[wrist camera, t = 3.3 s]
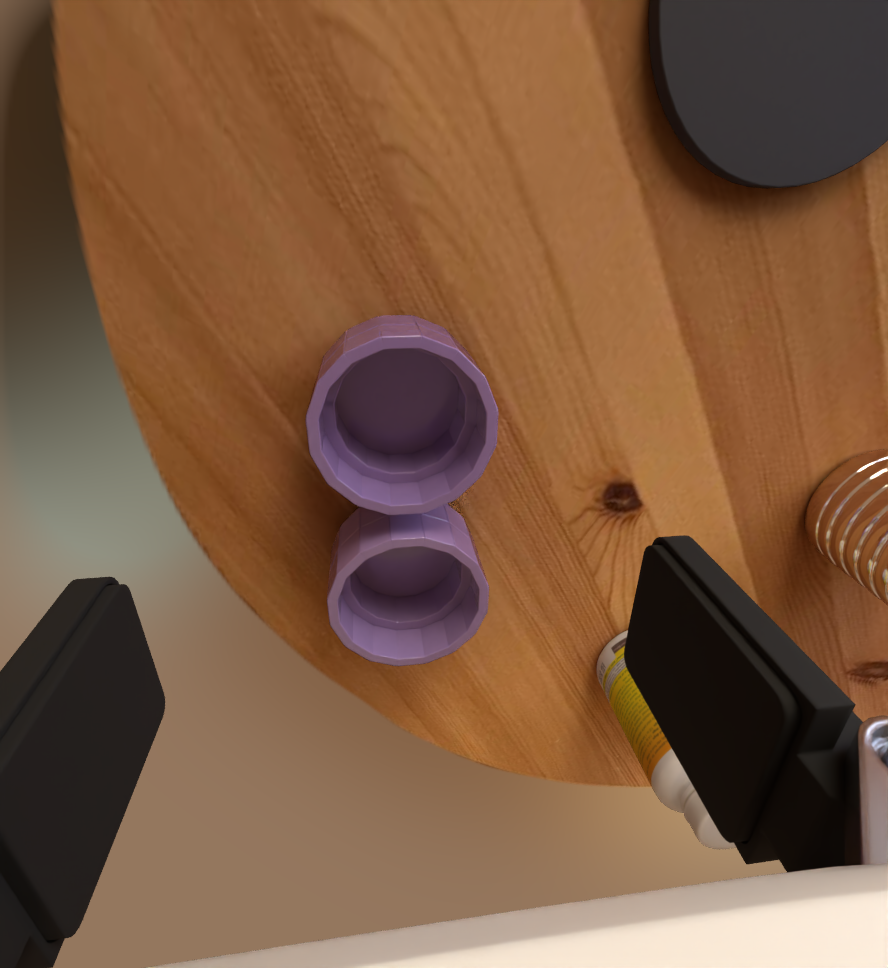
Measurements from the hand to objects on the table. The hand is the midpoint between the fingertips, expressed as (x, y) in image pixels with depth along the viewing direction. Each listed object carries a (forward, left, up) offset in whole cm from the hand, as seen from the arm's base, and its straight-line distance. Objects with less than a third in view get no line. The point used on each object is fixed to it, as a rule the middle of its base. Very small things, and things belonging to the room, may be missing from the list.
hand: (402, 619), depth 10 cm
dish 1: (+1, -1, -15) cm, 15 cm away
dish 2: (+1, -9, -15) cm, 17 cm away
